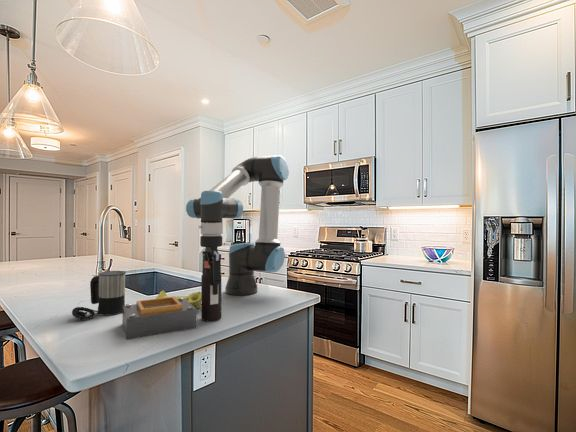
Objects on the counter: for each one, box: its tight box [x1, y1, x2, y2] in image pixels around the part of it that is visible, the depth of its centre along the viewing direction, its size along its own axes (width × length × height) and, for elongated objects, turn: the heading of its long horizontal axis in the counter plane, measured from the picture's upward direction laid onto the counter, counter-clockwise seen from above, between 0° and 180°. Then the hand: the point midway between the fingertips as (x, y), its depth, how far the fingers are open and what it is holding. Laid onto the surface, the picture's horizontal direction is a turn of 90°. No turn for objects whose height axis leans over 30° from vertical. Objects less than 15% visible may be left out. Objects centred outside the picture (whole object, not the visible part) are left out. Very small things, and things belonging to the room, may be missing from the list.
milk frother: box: [71, 270, 127, 320], centre depth 116 cm, size 14×16×15 cm
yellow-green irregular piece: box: [155, 290, 201, 310], centre depth 126 cm, size 20×7×10 cm
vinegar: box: [200, 261, 222, 322], centre depth 112 cm, size 7×7×20 cm
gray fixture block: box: [121, 296, 198, 341], centre depth 104 cm, size 20×16×8 cm
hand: (211, 301), depth 112 cm, fingers closed on vinegar, 6 cm apart
